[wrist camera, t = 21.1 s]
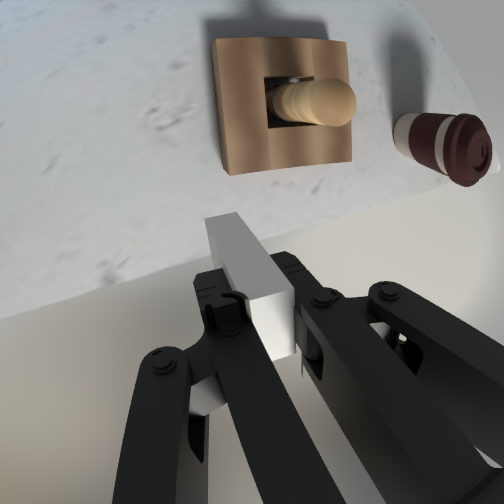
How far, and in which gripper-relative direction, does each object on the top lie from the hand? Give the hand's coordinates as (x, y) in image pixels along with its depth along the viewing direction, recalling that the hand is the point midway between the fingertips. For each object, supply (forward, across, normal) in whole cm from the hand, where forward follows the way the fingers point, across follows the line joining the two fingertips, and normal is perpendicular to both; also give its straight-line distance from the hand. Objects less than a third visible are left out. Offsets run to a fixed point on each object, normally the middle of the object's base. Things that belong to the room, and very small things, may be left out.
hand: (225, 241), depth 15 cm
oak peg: (+25, +13, +5) cm, 28 cm away
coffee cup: (+24, +35, 0) cm, 42 cm away
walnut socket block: (+25, +13, +6) cm, 28 cm away
